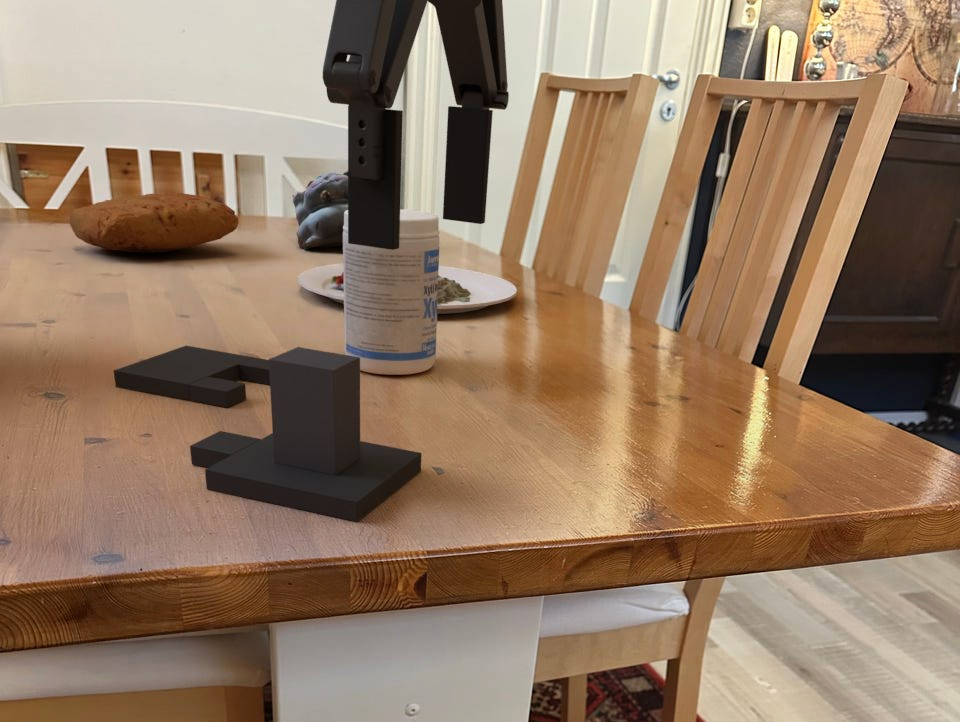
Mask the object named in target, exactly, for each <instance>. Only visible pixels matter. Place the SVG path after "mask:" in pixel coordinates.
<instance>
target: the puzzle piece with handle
mask: <svg viewBox="0 0 960 722" xmlns="http://www.w3.org/2000/svg"><path fill="white" fill-rule="evenodd" d="M268 360H269V372H270V385H269V387H270V388H269V389H270V409H271V410H270V411H271V428H272V433H270V434H268V435H266V436H264V437H263V438H258V437H253V436H248V435H243V434H238V433H234V432H233V433H232V432H227V431H223V430H219V431H217V432H215V433H212V434H211V435H209V436H207V437H205V438H202V439H201V440H199V441H197V442H195V443H192V444H191V445H190V446H189V449H190V450H189V451H190V459H191V465H193V466H197V467H201V468H205V469H204V474H205V476H204V477H205V484H206V489H207V490H209V491H215V492H219V493H223V494H228V495H233V496H237V497H242V498H246V499H251V500H256V501H260V502H265V503H269V504H274V505H279V506H282V507H288V508H292V509H296V510H300V511H305V512H310V513H315V514H319V515H324V516H328V517H333V518H338V519H341V520H346V521H352V522H356V523H358V522H359V521H360V520H361V519H363V518H364V517H366V515H368V514H369V513H371V512H372V511H373V510H374V509H376V508H377V507H378V506H379V505H381V503H383V502H384V501H385V500H386V499H388V498H389V497H390V496H392V495H393V494H394V493H395V492H397V491H398V490H399V489H400V488H402V487H403V486H404V485H405V484H407V483H408V482H409V481H410V480H412V479H413V478H414V477H415V476H417V475H418V474H419V473H420V472H421V471H422V455H423V454H422V452H419V451H414V450H410V449H404V448H399V447H393V446H388V445H383V444H378V443H372V442H367V441H363V440H361V370H360V357H354V356H348V355H345V354H342V353H335V352H329V351H323V350H317V349H311V348H306V347H299V346H298V347H297V346H296V347H295V348H293V349H290V350H288V351H285V352H282V353H280V354H278V355H275V356H273V357H271V358H268Z"/></svg>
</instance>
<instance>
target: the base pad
mask: <svg viewBox="0 0 960 722" xmlns="http://www.w3.org/2000/svg"><path fill="white" fill-rule="evenodd" d="M113 376H114V384H115V387H116V388H121V389H127V390H131V391H136V392H137V391H138V392H143V393H148V394H154V395H158V396H163V397H167V398H168V397H169V398H174V399H179V400H185V401H191V402H196V403H201V404H206V405H212V406H217V407H223V408H227V409H228V408H231V407H232V406H235V405H237V404H240V403H241V402H243V401H246V400H247V391H246V390H247V389H246V388H247V387H246V383H245V382H240V381H238V380H241V381H246V382H250V383H251V382H252V383H256V384H263V385H268V386H270V372H269V359H266V358H260V357H254V356H249V355H243V354H238V353H230V352H226V351H219V350H214V349H208V348H202V347H197V346H191V345H183V346H181V347H178V348H175V349H172V350H169V351H166V352H163V353H160V354H158V355H154V356H151V357H148V358H146V359H143V360H140V361H137V362H134V363H131V364H128V365H125V366H123V367H120V368H116V369H114V370H113Z"/></svg>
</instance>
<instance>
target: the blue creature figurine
mask: <svg viewBox="0 0 960 722" xmlns="http://www.w3.org/2000/svg"><path fill="white" fill-rule="evenodd" d="M292 203H293V206H294V208H295V210H294V211H295V219H296V220H297V224H298V228H297V229H296V237H297V244H298V247H299V248H300V249H302V250H304V251H306V250H308V249H310V248H315V247H336V246H338V247H339V246H341V247H342V246H343V231H344V230H343V226H344V212H345V211H346V210H348V170H347V171H345V172H342V173H336V172H327V173H325V174H321V175H318V176H317V177H316V178H315V179H314V180H310V181H309V182H308V184H307V186H306V187H305V190H304V191H298V190H297V192H296V194H295V195H294V194H292Z"/></svg>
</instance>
